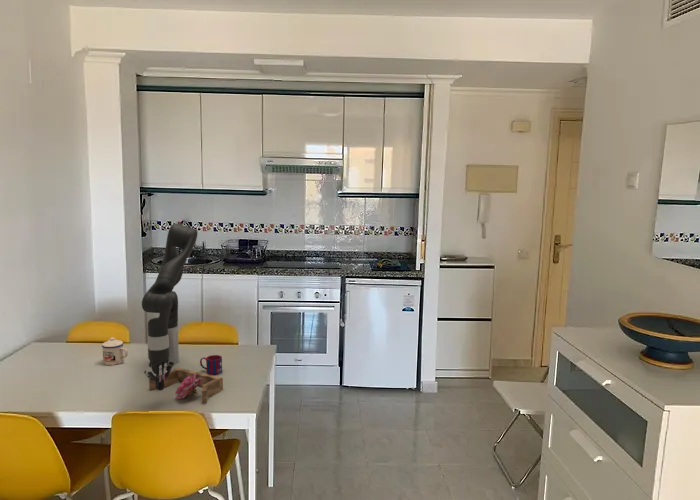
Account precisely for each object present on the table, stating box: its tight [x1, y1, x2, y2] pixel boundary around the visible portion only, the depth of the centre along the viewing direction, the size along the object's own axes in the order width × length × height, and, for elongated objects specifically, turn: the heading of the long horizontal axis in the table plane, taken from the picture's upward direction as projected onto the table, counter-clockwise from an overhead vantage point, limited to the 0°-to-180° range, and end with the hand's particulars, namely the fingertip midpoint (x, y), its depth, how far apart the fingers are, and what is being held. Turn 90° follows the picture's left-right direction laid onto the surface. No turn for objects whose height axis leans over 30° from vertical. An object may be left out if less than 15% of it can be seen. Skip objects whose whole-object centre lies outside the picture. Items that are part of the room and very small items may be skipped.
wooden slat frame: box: [148, 367, 224, 404], centre depth 214 cm, size 29×14×5 cm, turn 65°
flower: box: [175, 374, 203, 400], centre depth 207 cm, size 11×10×10 cm
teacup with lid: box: [101, 337, 129, 366], centre depth 243 cm, size 12×9×12 cm
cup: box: [199, 354, 223, 376], centre depth 234 cm, size 7×10×7 cm
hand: (160, 389), depth 201 cm, fingers closed
